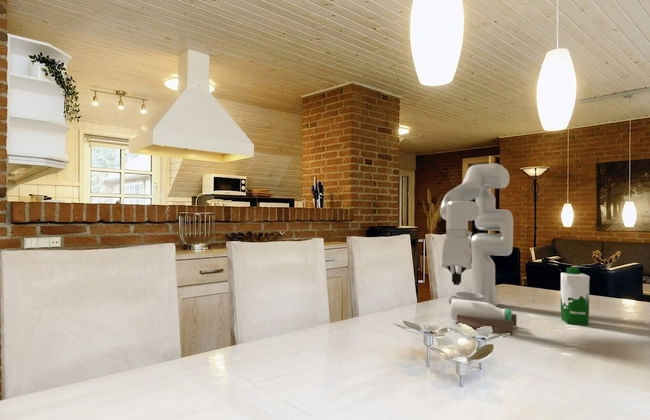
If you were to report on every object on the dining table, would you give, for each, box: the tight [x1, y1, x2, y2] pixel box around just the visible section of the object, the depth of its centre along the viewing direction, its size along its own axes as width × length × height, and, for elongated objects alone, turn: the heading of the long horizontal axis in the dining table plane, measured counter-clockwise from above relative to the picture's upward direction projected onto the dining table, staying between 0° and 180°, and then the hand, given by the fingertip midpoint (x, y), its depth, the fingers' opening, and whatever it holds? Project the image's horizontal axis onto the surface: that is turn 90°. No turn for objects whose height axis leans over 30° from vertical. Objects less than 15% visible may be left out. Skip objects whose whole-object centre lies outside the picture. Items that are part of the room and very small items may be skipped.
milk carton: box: [560, 266, 591, 326], centre depth 158 cm, size 9×9×20 cm
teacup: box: [447, 291, 484, 306], centre depth 170 cm, size 14×11×8 cm
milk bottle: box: [450, 298, 513, 322], centre depth 152 cm, size 8×8×20 cm
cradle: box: [456, 313, 518, 336], centre depth 150 cm, size 12×18×4 cm
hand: (456, 284), depth 156 cm, fingers closed
